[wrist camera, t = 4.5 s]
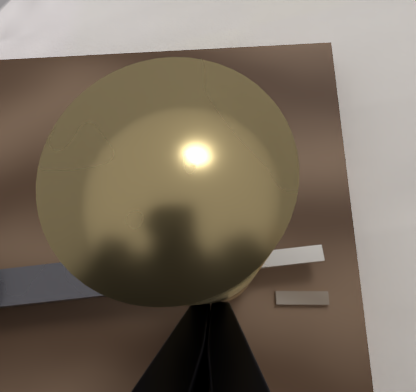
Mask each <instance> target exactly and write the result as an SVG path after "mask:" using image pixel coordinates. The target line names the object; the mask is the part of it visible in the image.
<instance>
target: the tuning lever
mask: <svg viewBox="0 0 416 392" xmlns="http://www.w3.org/2000/svg"><path fill="white" fill-rule="evenodd" d="M298 188H299V160H298V152H297V148H296V144H295V141H294V137H293V134H292V132H291V129H290V127H289V125H288V122H287V120H286V119H285V117H284V115H283V114H282V112H281V111H280V109H279V107H278V106H277V105H276V104H275V102H274V101H273V100H272V99H271V98H270V96H269V95H268V94H267V93H266V92H265V91H263V90H262V89H261V88H260V87H259V86H258V85H257V84H256V83H254V82H253V81H251V80H250V79H249V78H247V77H246V76H244V75H242V74H240V73H239V72H237V71H235V70H233V69H231V68H228V67H226V66H223V65H221V64H218V63H215V62H211V61H207V60H203V59H196V58H189V57H166V58H156V59H151V60H146V61H141V62H138V63H135V64H131V65H128V66H125V67H123V68H121V69H119V70H116V71H114V72H112V73H110V74H108V75H107V76H105V77H103V78H101V79H100V80H98V81H97V82H95V83H94V84H92V85H91V86H90V87H88V88H87V89H86V90H85V91H83V92H82V93H81V94H80V95H79V96H78V97H77V98H76V99H75V100H74V101H73V102H72V103H71V104H70V105H69V106H68V107H67V109H66V110H65V111H64V112H63V114H62V115H61V116H60V118H59V119H58V121H57V122H56V123H55V125H54V127H53V129H52V131H51V133H50V134H49V136H48V138H47V141H46V143H45V146H44V148H43V151H42V153H41V157H40V161H39V165H38V170H37V178H36V204H37V210H38V216H39V220H40V223H41V226H42V230H43V233H44V235H45V237H46V239H47V241H48V243H49V245H50V247H51V249H52V250H53V252H54V253H55V255H56V256H57V258H58V259H59V261H60V262H59V263H51V264H42V265H33V266H24V267H16V268H7V269H0V308H6V307H15V306H24V305H33V304H42V303H51V302H61V301H70V300H79V299H88V298H97V297H109V298H111V299H114V300H116V301H119V302H123V303H127V304H131V305H136V306H145V307H176V306H188V305H201V304H212V303H217V302H228V301H231V300H233V299H235V298H237V297H238V296H240V295H241V294H242V293H243V292H244V291H245V290H246V288H247V287H248V285H249V284H250V283H251V281H252V280H253V278H254V277H255V275H256V274H257V273H258V271H259V270H260V269H261V268H270V267H279V266H288V265H297V264H306V263H315V262H323V261H325V259H324V254H323V249H322V245H313V246H304V247H295V248H286V249H277V250H274V248H275V247H276V245H277V244H278V242H279V241H280V239H281V238H282V236H283V235H284V232H285V230H286V228H287V226H288V224H289V222H290V220H291V217H292V214H293V211H294V207H295V204H296V201H297V194H298Z"/></svg>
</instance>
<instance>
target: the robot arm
mask: <svg viewBox="0 0 416 392" xmlns="http://www.w3.org/2000/svg"><path fill="white" fill-rule="evenodd" d="M131 392H271V391H270V389H269V387H268V385H267V383H266V380H265V378H264V376H263V374H262V372H261V370H260V367H259V365H258V363H257V361H256V359H255V357H254V354H253V352H252V350H251V348H250V346H249V344H248V341H247V339H246V337H245V335H244V333H243V331H242V328H241V326H240V324H239V322H238V320H237V318H236V315H235V313H234V311H233V309H232V307H231V305H230V303H229V302H217V303H212V304H201V305H190V306H189V308H188V309H187V311H186V312H185V313H184V315H183V316H182V318H181V319H180V321H179V322H178V324H177V325H176V327H175V328H174V330H173V331H172V332H171V334H170V335H169V337H168V338H167V340H166V341H165V343H164V344H163V346H162V347H161V349H160V350H159V351H158V353H157V354H156V356H155V357H154V359H153V360H152V362H151V363H150V365H149V366H148V368H147V369H146V370H145V372H144V373H143V375H142V376H141V378H140V379H139V381H138V382H137V384H136V385H135V387H134V388H133V389H132V391H131Z"/></svg>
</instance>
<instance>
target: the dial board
mask: <svg viewBox="0 0 416 392" xmlns="http://www.w3.org/2000/svg"><path fill="white" fill-rule="evenodd" d="M166 57H189V58H196V59H203V60H207V61H211V62H215V63H218V64H221V65H223V66H226V67H228V68H231V69H233V70H235V71H237V72H239V73H240V74H242V75H244V76H246V77H247V78H249V79H250V80H251V81H253V82H254V83H256V84H257V85H258V86H259V87H260V88H261V89H262V90H263V91H265V92H266V93H267V94H268V95H269V96H270V98H271V99H272V100H273V101H274V102H275V104H276V105H277V106H278V107H279V109H280V111H281V112H282V114H283V115H284V117H285V119H286V120H287V122H288V125H289V127H290V129H291V132H292V134H293V137H294V141H295V144H296V148H297V152H298V160H299V188H298V194H297V201H296V204H295V207H294V211H293V214H292V217H291V220H290V222H289V224H288V226H287V228H286V230H285V232H284V235H283V236H282V238H281V239H280V241H279V242H278V244H277V245H276V247H275V248H274V250H277V249H286V248H295V247H304V246H313V245H322V249H323V254H324V259H325V261H323V262H315V263H306V264H297V265H288V266H279V267H270V268H261V269H260V270H259V271H258V273H257V274H256V275H255V277H254V278H253V280H252V281H251V283H250V284H249V285H248V287H247V288H246V290H245V291H244V292H243V293H242V294H241V295H240V296H238V297H237V298H235V299H233V300H231V301H228V302H229V303H230V305H231V307H232V309H233V311H234V313H235V315H236V318H237V320H238V322H239V324H240V326H241V328H242V331H243V333H244V335H245V337H246V339H247V341H248V344H249V346H250V348H251V350H252V352H253V354H254V357H255V359H256V361H257V363H258V365H259V367H260V370H261V372H262V374H263V376H264V378H265V380H266V383H267V385H268V387H269V389H270V391H271V392H373V384H372V376H371V368H370V360H369V351H368V343H367V335H366V327H365V318H364V310H363V302H362V294H361V286H360V277H359V269H358V261H357V253H356V244H355V236H354V228H353V220H352V211H351V203H350V195H349V187H348V179H347V170H346V162H345V154H344V146H343V137H342V129H341V121H340V113H339V104H338V96H337V88H336V80H335V71H334V63H333V55H332V47H331V43H315V44H296V45H277V46H258V47H239V48H220V49H200V50H181V51H162V52H143V53H124V54H105V55H86V56H67V57H47V58H28V59H9V60H0V269H7V268H16V267H24V266H33V265H42V264H51V263H59V262H60V261H59V259H58V258H57V256H56V255H55V253H54V252H53V250H52V249H51V247H50V245H49V243H48V241H47V239H46V237H45V235H44V233H43V230H42V226H41V223H40V220H39V216H38V210H37V204H36V178H37V170H38V165H39V161H40V157H41V153H42V151H43V148H44V146H45V143H46V141H47V138H48V136H49V134H50V133H51V131H52V129H53V127H54V125H55V123H56V122H57V121H58V119H59V118H60V116H61V115H62V114H63V112H64V111H65V110H66V109H67V107H68V106H69V105H70V104H71V103H72V102H73V101H74V100H75V99H76V98H77V97H78V96H79V95H80V94H81V93H82V92H83V91H85V90H86V89H87V88H88V87H90V86H91V85H92V84H94V83H95V82H97V81H98V80H100V79H101V78H103V77H105V76H107V75H108V74H110V73H112V72H114V71H116V70H119V69H121V68H123V67H125V66H128V65H131V64H135V63H138V62H141V61H146V60H151V59H156V58H166ZM189 306H190V305H188V306H176V307H145V306H136V305H131V304H127V303H123V302H119V301H116V300H114V299H111V298H109V297H97V298H88V299H79V300H70V301H61V302H51V303H42V304H33V305H24V306H15V307H6V308H0V392H131V391H132V389H133V388H134V387H135V385H136V384H137V382H138V381H139V379H140V378H141V376H142V375H143V373H144V372H145V370H146V369H147V368H148V366H149V365H150V363H151V362H152V360H153V359H154V357H155V356H156V354H157V353H158V351H159V350H160V349H161V347H162V346H163V344H164V343H165V341H166V340H167V338H168V337H169V335H170V334H171V332H172V331H173V330H174V328H175V327H176V325H177V324H178V322H179V321H180V319H181V318H182V316H183V315H184V313H185V312H186V311H187V309H188V308H189Z"/></svg>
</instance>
